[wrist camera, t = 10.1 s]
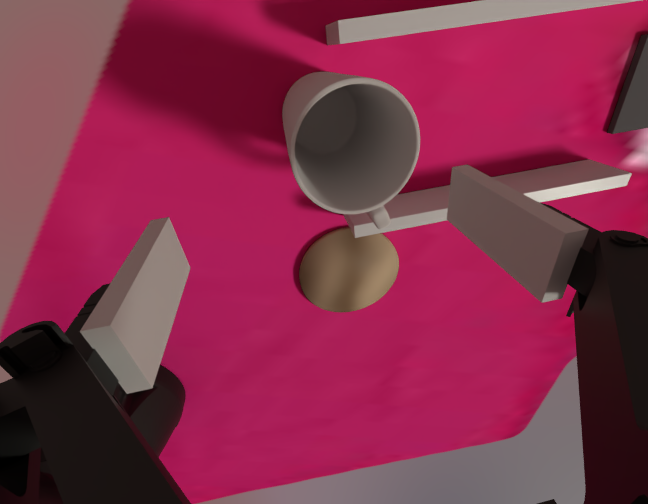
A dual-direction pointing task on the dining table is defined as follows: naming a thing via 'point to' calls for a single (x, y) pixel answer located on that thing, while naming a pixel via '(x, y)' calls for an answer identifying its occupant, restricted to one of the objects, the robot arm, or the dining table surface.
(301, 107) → the mug
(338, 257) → the coaster
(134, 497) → the robot arm
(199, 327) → the dining table surface
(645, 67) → the pad
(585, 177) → the channel
